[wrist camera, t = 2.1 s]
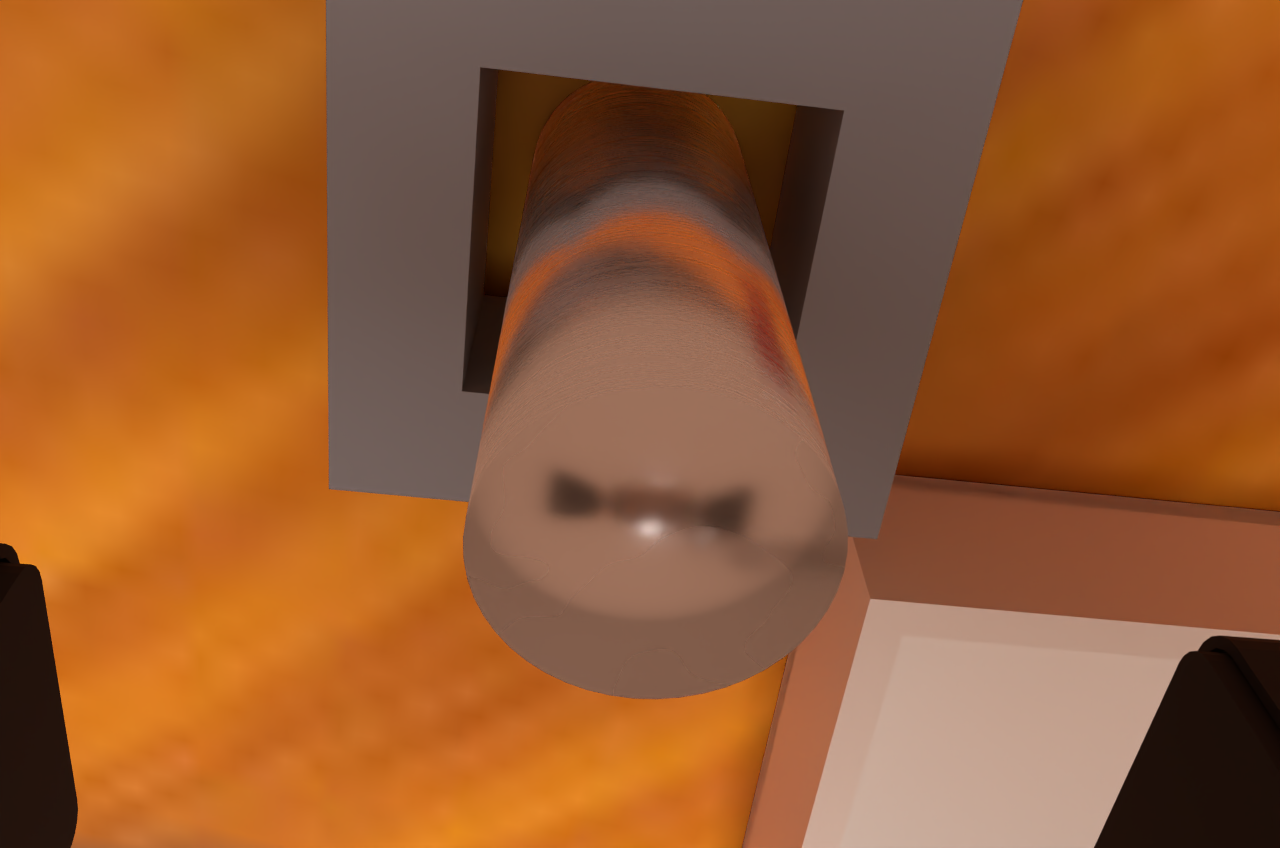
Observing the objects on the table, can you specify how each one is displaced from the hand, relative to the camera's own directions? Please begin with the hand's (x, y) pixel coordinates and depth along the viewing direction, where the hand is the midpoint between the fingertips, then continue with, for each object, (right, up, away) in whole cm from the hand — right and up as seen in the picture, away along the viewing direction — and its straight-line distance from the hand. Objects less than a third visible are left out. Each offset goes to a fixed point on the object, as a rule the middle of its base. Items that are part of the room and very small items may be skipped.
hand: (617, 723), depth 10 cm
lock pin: (0, +7, +13) cm, 15 cm away
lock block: (0, +7, +13) cm, 15 cm away
